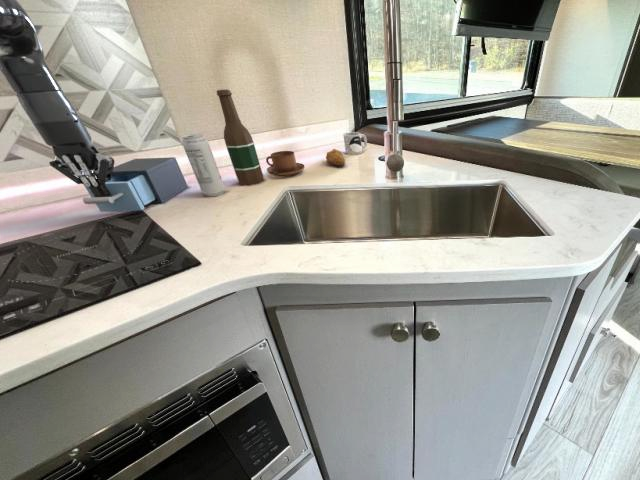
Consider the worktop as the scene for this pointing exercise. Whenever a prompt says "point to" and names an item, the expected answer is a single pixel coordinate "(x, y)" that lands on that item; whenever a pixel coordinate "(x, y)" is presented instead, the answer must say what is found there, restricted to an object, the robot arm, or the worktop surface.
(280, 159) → the cup and saucer
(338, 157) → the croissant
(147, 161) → the blue drawer box
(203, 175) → the energy drink can
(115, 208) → the light blue drawer
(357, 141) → the mug
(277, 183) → the worktop surface
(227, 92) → the beer bottle
